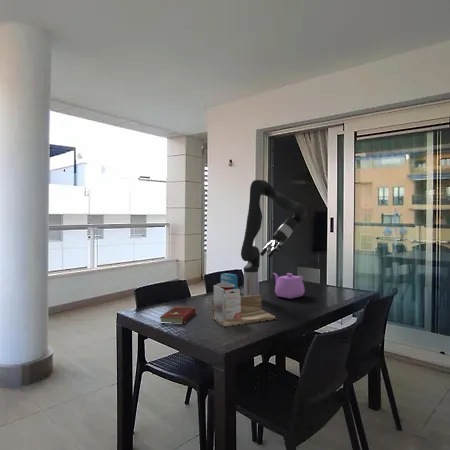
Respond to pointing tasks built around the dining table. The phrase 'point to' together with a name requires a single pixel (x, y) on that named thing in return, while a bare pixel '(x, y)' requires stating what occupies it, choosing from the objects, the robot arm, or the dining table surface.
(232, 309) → the ink cartridge box
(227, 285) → the plastic cup
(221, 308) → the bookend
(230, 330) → the dining table surface
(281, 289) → the teapot
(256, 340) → the dining table surface
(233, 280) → the data package
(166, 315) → the hardcover book
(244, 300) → the shelf board
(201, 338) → the dining table surface
